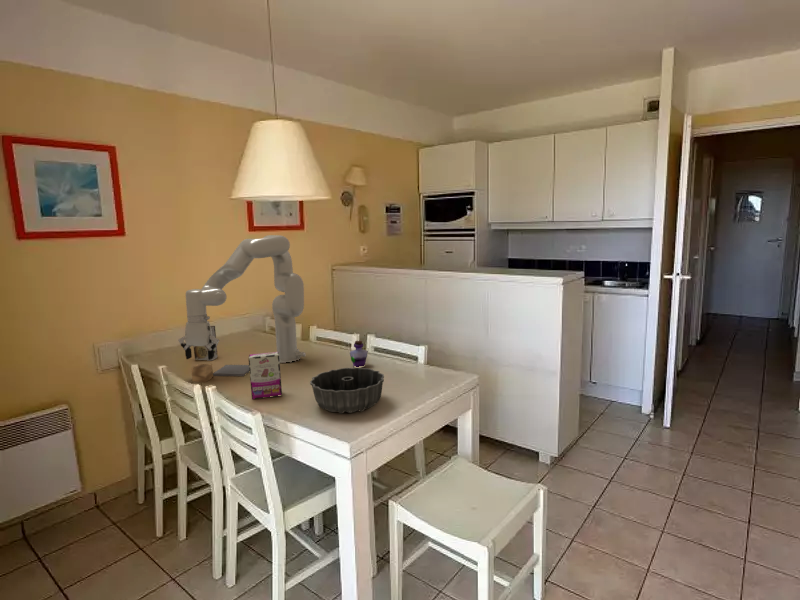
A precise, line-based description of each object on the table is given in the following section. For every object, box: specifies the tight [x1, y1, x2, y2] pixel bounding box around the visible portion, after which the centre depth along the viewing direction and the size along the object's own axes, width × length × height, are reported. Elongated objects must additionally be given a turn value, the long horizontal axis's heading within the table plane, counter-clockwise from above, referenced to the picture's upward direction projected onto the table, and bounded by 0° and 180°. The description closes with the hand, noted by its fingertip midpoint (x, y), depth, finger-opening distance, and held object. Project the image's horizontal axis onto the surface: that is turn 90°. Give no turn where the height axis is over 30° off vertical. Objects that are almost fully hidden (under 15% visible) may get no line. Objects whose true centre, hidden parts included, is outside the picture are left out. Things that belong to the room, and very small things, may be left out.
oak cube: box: [191, 363, 214, 383], centre depth 200 cm, size 6×6×6 cm
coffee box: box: [193, 325, 218, 362], centre depth 230 cm, size 9×6×16 cm
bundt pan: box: [309, 367, 385, 414], centre depth 169 cm, size 26×26×10 cm
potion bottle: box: [349, 340, 369, 367], centre depth 213 cm, size 9×9×12 cm
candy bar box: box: [247, 351, 283, 400], centre depth 178 cm, size 11×5×16 cm, turn 105°
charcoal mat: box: [213, 364, 250, 377], centre depth 210 cm, size 14×13×1 cm
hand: (199, 358), depth 198 cm, fingers open, 9 cm apart
